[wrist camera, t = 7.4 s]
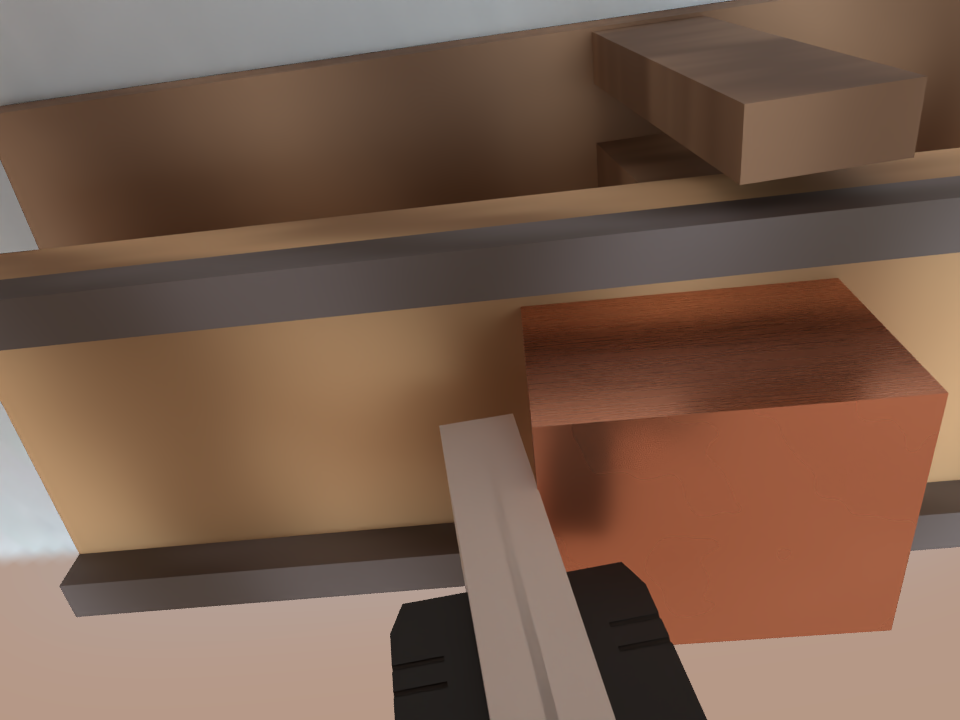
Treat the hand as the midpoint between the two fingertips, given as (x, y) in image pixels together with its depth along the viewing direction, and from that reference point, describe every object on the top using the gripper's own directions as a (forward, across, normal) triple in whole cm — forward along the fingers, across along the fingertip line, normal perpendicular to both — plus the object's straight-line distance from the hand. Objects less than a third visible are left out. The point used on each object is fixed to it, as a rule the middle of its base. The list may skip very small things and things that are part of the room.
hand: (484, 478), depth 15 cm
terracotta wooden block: (+1, +4, 0) cm, 4 cm away
